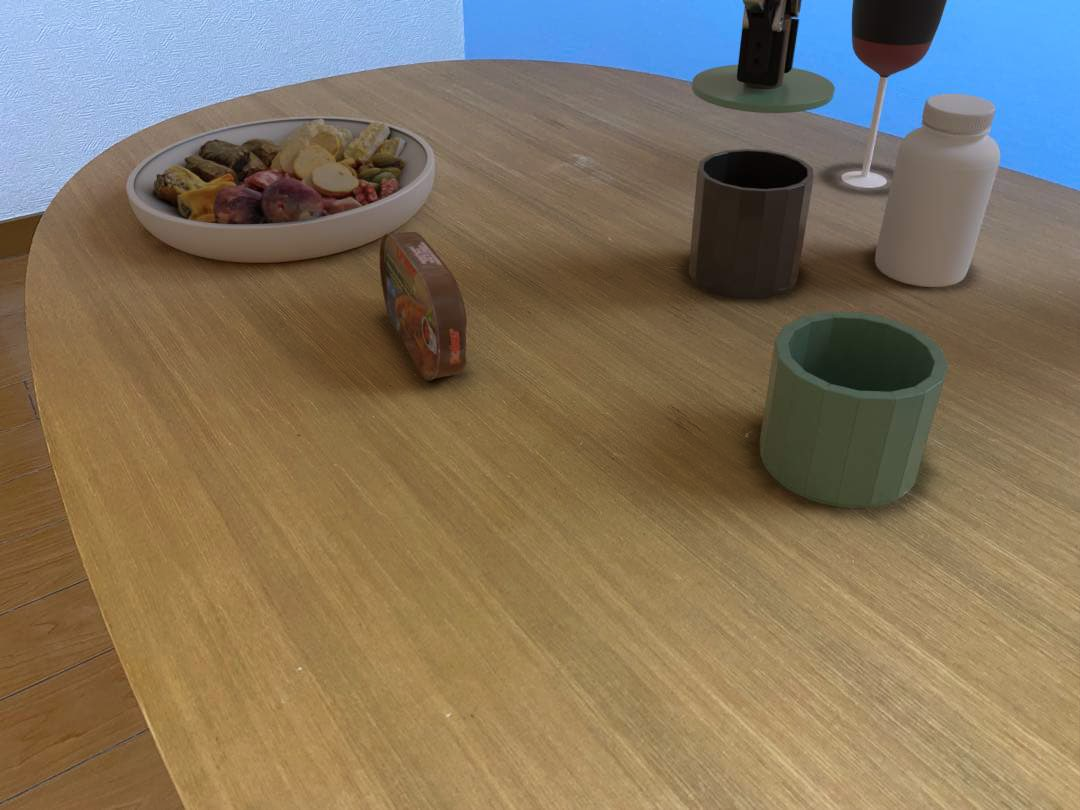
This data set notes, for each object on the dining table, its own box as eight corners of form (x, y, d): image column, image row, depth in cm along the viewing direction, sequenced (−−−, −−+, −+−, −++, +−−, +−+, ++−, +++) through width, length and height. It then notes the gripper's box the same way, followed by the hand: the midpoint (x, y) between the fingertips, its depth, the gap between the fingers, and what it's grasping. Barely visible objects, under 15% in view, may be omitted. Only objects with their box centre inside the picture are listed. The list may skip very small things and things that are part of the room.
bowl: (142, 178, 105) (123, 107, 100) (406, 145, 112) (399, 78, 108) (135, 300, 81) (110, 216, 77) (469, 249, 89) (464, 169, 84)
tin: (381, 310, 80) (369, 217, 75) (417, 302, 81) (408, 210, 76) (436, 402, 68) (427, 300, 63) (477, 392, 69) (471, 291, 64)
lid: (716, 72, 81) (724, -5, 77) (845, 88, 76) (860, 8, 73) (671, 108, 73) (677, 24, 69) (813, 129, 69) (827, 41, 65)
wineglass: (893, 202, 97) (938, -5, 85) (811, 185, 100) (844, -15, 89) (914, 177, 102) (959, -21, 90) (836, 162, 106) (869, -30, 94)
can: (781, 403, 68) (799, 299, 63) (927, 440, 64) (957, 332, 59) (740, 483, 60) (756, 372, 55) (901, 530, 56) (933, 416, 52)
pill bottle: (902, 295, 80) (943, 122, 72) (857, 255, 87) (890, 91, 78) (985, 285, 82) (1036, 114, 73) (935, 246, 88) (976, 84, 79)
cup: (744, 244, 89) (757, 141, 83) (818, 283, 82) (838, 174, 77) (667, 270, 85) (675, 163, 79) (739, 313, 78) (753, 200, 73)
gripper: (828, -195, 56) (783, 113, 66) (880, -207, 68) (835, 56, 78) (707, -197, 58) (683, 99, 69) (778, -208, 70) (748, 46, 81)
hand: (764, 74), depth 73 cm, fingers closed on lid, 3 cm apart
